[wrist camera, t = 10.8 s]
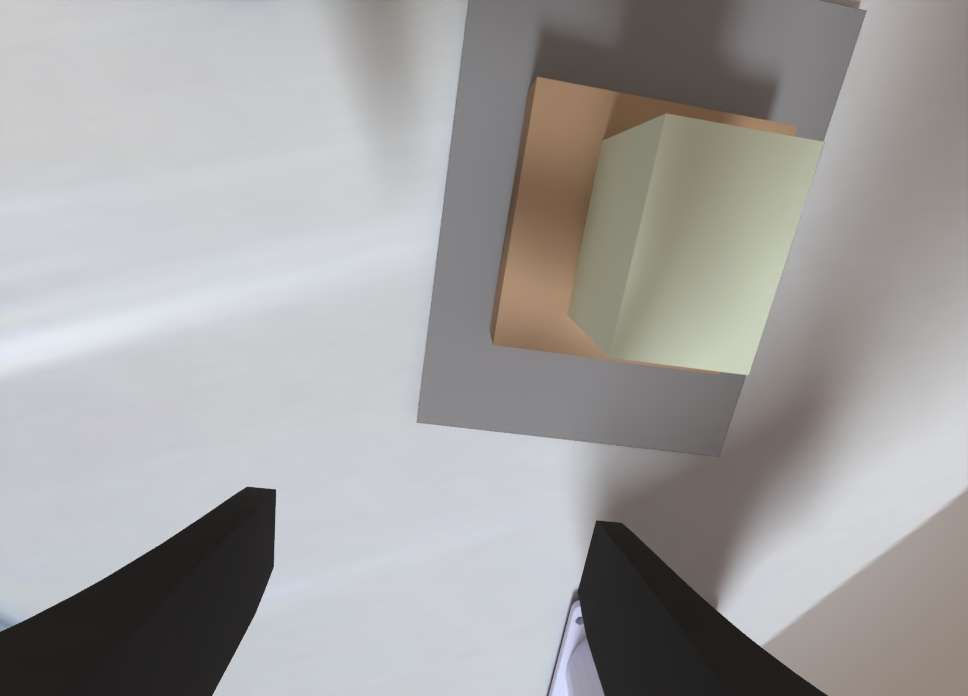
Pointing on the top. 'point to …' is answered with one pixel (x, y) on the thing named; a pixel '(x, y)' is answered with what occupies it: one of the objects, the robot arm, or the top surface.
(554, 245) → the walnut base brick
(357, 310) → the top surface
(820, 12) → the grey mat
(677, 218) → the sage brick
